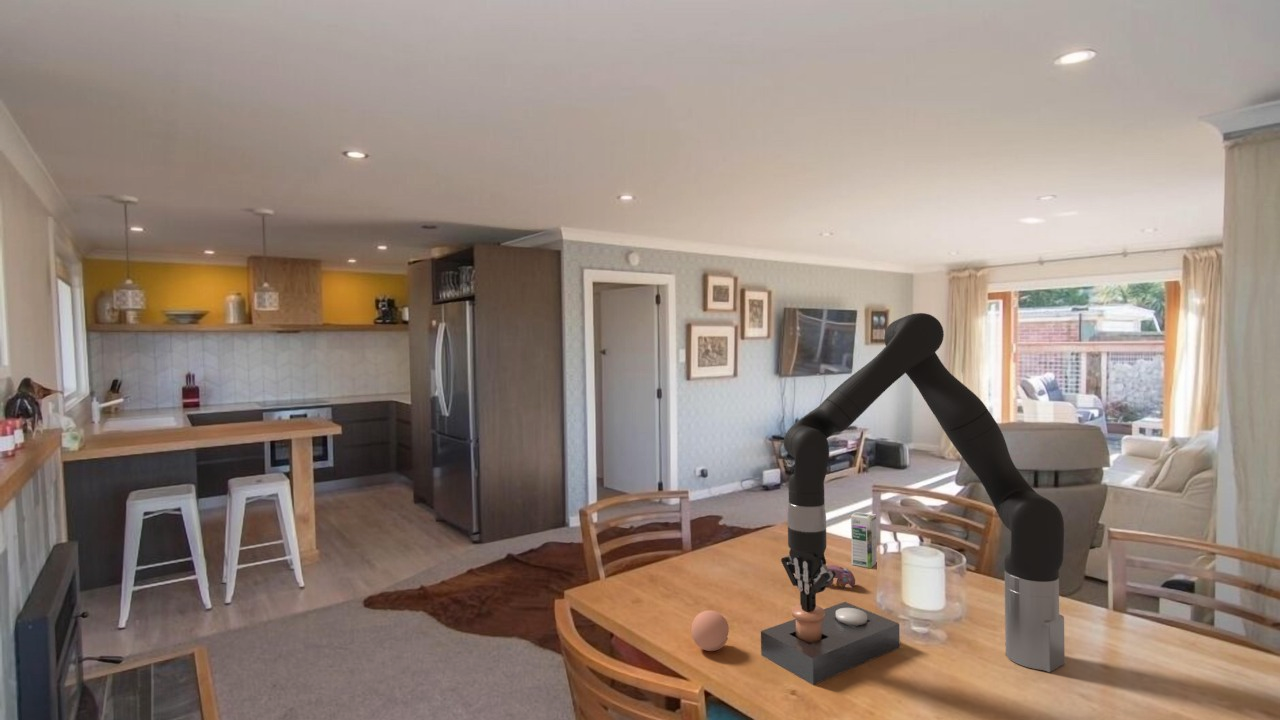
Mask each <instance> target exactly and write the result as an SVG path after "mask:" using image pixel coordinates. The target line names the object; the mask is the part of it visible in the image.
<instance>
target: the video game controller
mask: <svg viewBox="0 0 1280 720" xmlns="http://www.w3.org/2000/svg"><path fill="white" fill-rule="evenodd" d="M826 566H827V568H828V569H829V570H830V571H834V572H835V574H836V576H835V577H834V579H836V582H835V583H836V586H837V587H839V588H841V589H843V588H845V587H846V586H847V585H849V586H850V587H855V585H856V578H855V575H854V573H852V571H851V570H849V568H847V567H845V568H844V567H842V566H839V565H835V564H829V565H826ZM820 573H821V572H820ZM834 579H833V580H832V581H831V582H830V584H829V585H828V587H831V586H833V584H834Z"/></svg>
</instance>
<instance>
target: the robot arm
mask: <svg viewBox="0 0 1280 720" xmlns="http://www.w3.org/2000/svg"><path fill="white" fill-rule="evenodd" d="M944 336H945V334H944V327H943V325H942V324H941V321H939V320H938V318H936V317H935V316H933V315H932V314H929V313H923V312H917V313H915V312H914V313H911V314H907V315H905V316H903V317H901V318H898V319H896V320H894V321H892V322H891V323H890V324H889V325H888V326H887V327H886V329H885V332H884V339H883V340H884V345H885V347H884V348H883V349H882V350H881V351H880V352H879V353H877V355H876V356H875V357H874V358H873V359H872V360H870V361H869V362H868V363H867V364H866V365H864V366H863V367H861V368H860V369H858V370H857V371H856V372H855V373H853V374H852V375H851V376H850V377H848V378H847V379H846V380H844V381H843V382H842V383H841V384H840V385H839V386H838V387H836V389H835V390H833V392H832V393H830V394H829V396H827V397H826V398H825V399H824V400H823V401H822V402H821V404H820V405H818V407H817V406H816V408H814V409H813V410H811V411H810V412H808V413H807V414H805V415H804V416H802V418H800V419H798V420H797V421H796V422H794V424H793V425H792V426H791V427H790V428H789V429H788V430H787V431H786V433H785V435H784V438H783V446H784V447H783V448H784V450H785V451H786V453H787V454H788V455H789V456H790V457H792V458H794V470H793V474H791V475H790V476H789V478H788V507H787V545H788V548H789V552H788V555H787V556H784V557H782V558H781V559H780V562H781V564H782V566H783V567H784V570H785V572H786V574H787V576H788V579H789V580H790V583H791V585H792V586H793V587H797V589H798V591H799V600H800V601H799V604H801V606H802V610H804V611H806V612H811V611H813V610H814V609H815V607H816V606H817V604H816V603H817V600H816V599H817V596H816V594H819V593H822V592H824V591H825V590H826V589H827V588H828V587H829V584H830V582H831V581H832V580H833V581H834V579H835V578H834V577H835V576H836V574H835V572H834V571H830V570H829V569H828V568H827V566H828V565H827V559H826V557H825V552H826V550H827V514H826V507H825V479H826V475H827V470H828V464H829V458H830V446H829V442H828V438H829V437H831V436H832V435H834V434H836V433H842V432H844V431H846V430H847V429H848V428H849V427H850V426H851V425H852V424H853V423H854V422H855V421H856V420H857V419H858V418H859V417H861V415H862V414H863V413H864V412H865V411H866V410H868V408H870V406H871V405H872V404H873V403H874V402H875V401H876V400H877V399H878V398H879V397H880V396H882V394H883V393H885V392H886V391H887V389H888V388H890V387H891V386H892V385H893V384H894V383H896V382H897V381H898V380H899V379H900V378H901V377H902V376H904V375H905V374H906V376H907V377H908V378H909V379H910V380H911V382H912V383H913V384H914V386H915V387H916V388H917V390H918V391H919V393H920V395H921V396H922V398H923V399H924V402H925V403H926V405H927V406H928V407H929V409H930V411H931V412H932V413H933V414H932V415H934V417H935V419H936V420H937V422H938V423H939V425H940V427H941V428H942V430H943V431H944V433H945V434H946V436H947V438H948V439H949V440H950V442H951V443H952V446H953V447H954V448H955V449H956V451H957V452H958V453H959V455H960V456H961V458H962V459H963V461H965V463H966V465H968V467H969V468H970V469H971V471H972V472H973V473H974V474H975V476H977V478H978V480H979V481H980V483H981V484H982V485H983V486H982V487H983V488H984V490H985V491H986V494H987V496H988V497H989V499H990V501H991V503H992V505H993V507H994V508H995V511H996V513H997V515H998V517H999V519H1000V520H1001V522H1002V524H1003V525H1004V526H1005V527H1006V528H1007V530H1010V533H1011V534H1010V538H1011V539H1010V552H1009V553H1008V554H1006V555H1005V557H1004V563H1003V564H1004V625H1005V628H1004V629H1005V630H1004V631H1005V636H1004V637H1005V642H1004V645H1005V656H1006V657H1007V658H1008V659H1009V660H1010V661H1011V662H1013V663H1016V664H1018V665H1020V666H1023V667H1025V668H1030V669H1034V670H1040V671H1045V672H1047V673H1052V672H1053V671H1055V670H1057V669H1059V668H1060V667H1062V666H1064V665H1065V662H1066V661H1065V655H1066V654H1065V653H1066V652H1065V616H1064V615H1063V614H1060V578H1059V577H1060V570H1061V567H1062V565H1063V561H1064V551H1065V550H1064V546H1065V545H1064V543H1065V523H1064V516H1063V514H1062V512H1061V509H1060V508H1059V506H1058V505H1056V504H1055V503H1054V502H1053V501H1051V500H1050V499H1047V498H1046V497H1044V496H1043V495H1040V494H1038V492H1036V490H1035V489H1033V487H1032V486H1031V485H1030V484H1029V483H1028V482H1027V480H1026V479H1025V477H1023V475H1022V474H1021V472H1020V471H1019V470H1018V468H1017V466H1016V464H1015V463H1014V461H1013V460H1012V457H1011V455H1010V452H1009V448H1008V445H1007V443H1006V439H1005V437H1004V435H1003V432H1002V431H1001V428H1000V427H999V424H998V423H997V421H996V420H995V418H994V417H993V415H992V414H991V412H990V411H989V410H988V408H987V406H986V405H985V404H984V402H983V401H982V400H981V399H980V397H978V396H977V394H975V393H974V392H973V391H972V390H970V389H969V387H967V386H966V385H965V384H964V383H962V382H961V381H960V380H958V378H957V377H956V376H954V375H953V374H952V373H951V372H950V371H949V370H948V369H947V368H946V367H945V365H944V364H943V362H942V361H941V359H940V358H939V356H938V355H937V353H936V352H937V351H938V350H939V349H940V347H941V346H942V344H943V341H944ZM820 572H821V573H820Z"/></svg>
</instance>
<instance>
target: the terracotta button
mask: <svg viewBox="0 0 1280 720" xmlns="http://www.w3.org/2000/svg"><path fill="white" fill-rule="evenodd" d="M824 609H825V608H823V607H821V606H819V605H816V607H815V609H814V610H813V611H811V612H806V611H804V610H802V606H801V604H800V603H799V604H796V605H793V606H792V608H791V615H792V617H793V618H795V619H796V638H798V639H800V640H802V641H804V642H806V643H811V644H812V643H815V642H817V641H820V640H822V633H821V620H823V619H824V618H825V611H824Z"/></svg>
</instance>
